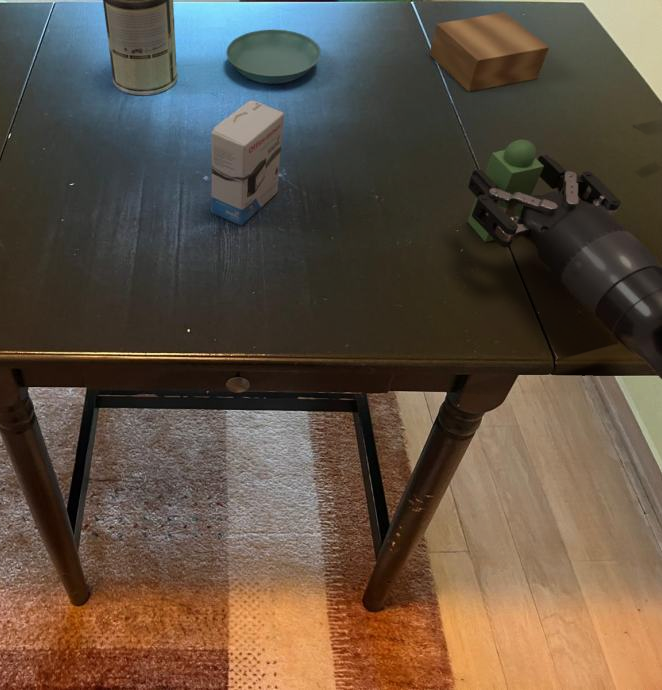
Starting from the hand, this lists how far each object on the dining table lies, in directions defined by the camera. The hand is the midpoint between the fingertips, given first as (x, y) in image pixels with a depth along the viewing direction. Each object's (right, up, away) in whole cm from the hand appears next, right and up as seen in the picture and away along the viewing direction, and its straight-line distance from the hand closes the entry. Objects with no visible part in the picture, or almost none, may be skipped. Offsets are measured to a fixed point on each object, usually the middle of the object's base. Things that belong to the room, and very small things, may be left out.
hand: (506, 168), depth 78 cm
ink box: (-29, -2, +10) cm, 31 cm away
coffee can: (-44, +22, +29) cm, 57 cm away
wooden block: (+9, +24, +30) cm, 40 cm away
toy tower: (0, -6, +6) cm, 8 cm away
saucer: (-24, +24, +31) cm, 46 cm away
